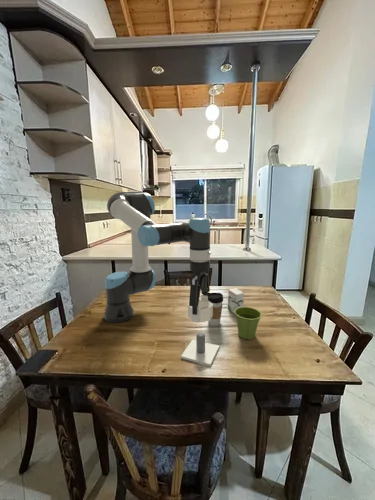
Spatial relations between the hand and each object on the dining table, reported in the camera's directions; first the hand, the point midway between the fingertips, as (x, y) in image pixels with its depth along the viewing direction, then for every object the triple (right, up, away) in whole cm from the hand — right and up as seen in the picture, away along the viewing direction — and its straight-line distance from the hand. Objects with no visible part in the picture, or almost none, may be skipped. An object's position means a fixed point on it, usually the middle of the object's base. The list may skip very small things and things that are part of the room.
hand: (200, 315), depth 90 cm
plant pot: (+22, -13, +15) cm, 30 cm away
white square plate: (0, -16, +3) cm, 16 cm away
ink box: (+22, -8, +39) cm, 45 cm away
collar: (0, 0, 0) cm, 0 cm away
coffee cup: (+9, -11, +26) cm, 30 cm away
